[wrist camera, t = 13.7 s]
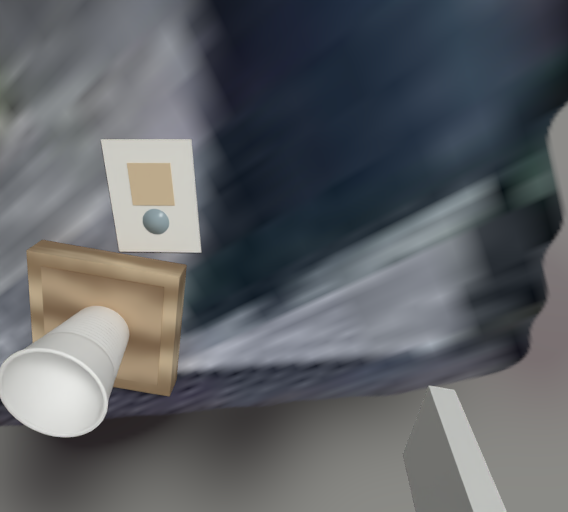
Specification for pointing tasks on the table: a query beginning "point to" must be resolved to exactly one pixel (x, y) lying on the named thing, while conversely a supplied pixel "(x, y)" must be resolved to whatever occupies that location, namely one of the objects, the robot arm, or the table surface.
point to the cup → (66, 374)
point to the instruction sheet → (153, 194)
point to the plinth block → (113, 305)
